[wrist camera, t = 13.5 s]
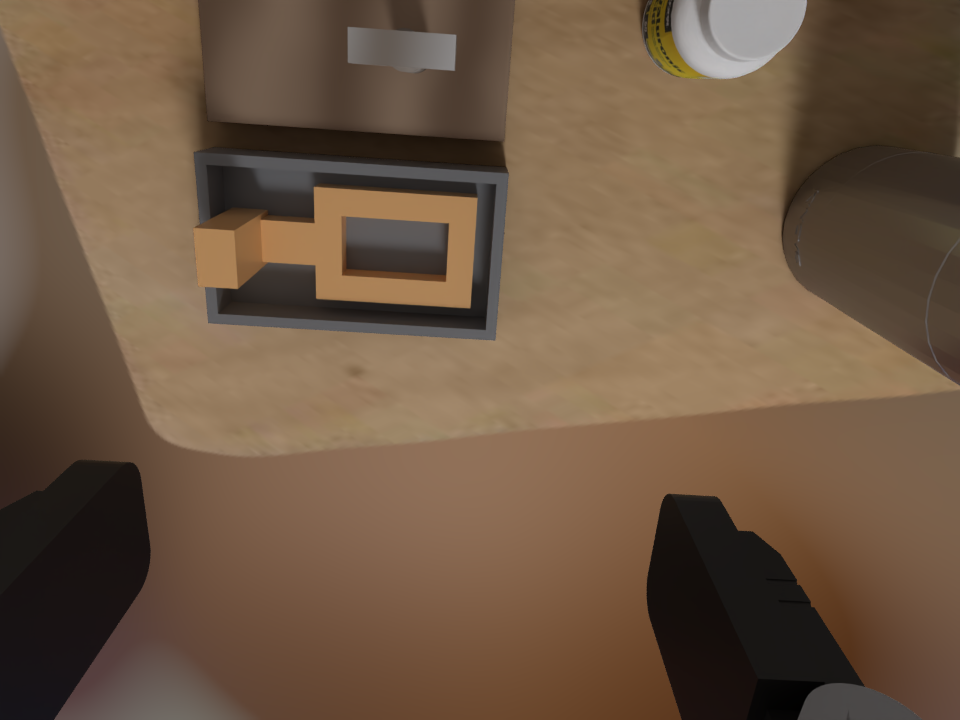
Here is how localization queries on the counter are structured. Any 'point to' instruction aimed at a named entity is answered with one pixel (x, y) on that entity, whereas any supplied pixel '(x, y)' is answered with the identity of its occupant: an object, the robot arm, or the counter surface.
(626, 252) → the counter surface
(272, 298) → the tray
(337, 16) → the board
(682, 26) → the supplement bottle
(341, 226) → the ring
